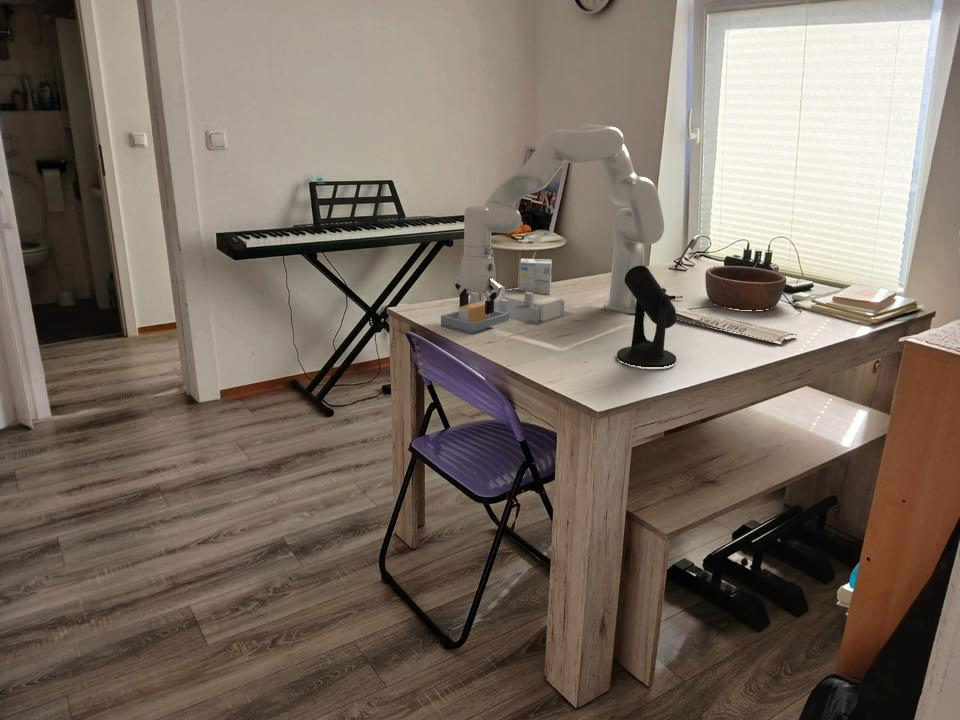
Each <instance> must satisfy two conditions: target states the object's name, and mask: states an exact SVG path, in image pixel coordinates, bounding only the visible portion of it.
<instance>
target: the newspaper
mask: <svg viewBox="0 0 960 720" xmlns="http://www.w3.org/2000/svg"><path fill="white" fill-rule="evenodd" d="M675 311H676V317H677V319H678V320H682V321H686V322H691V323H695V324H699V325H704V326H708V327H712V328H717V329H722V330H727V331H732V332H736V333H740V334H744V335H748V336H752V337H756V338H760V339H764V340H767V341H771V342H775V341H779V342H782V343H783V341H785V340H784V338H785V337H787V336H789V335H794V334H795V335H796V336H797V333H794V332H789V331H783V330H780V329H776V328H771V327H766V326H761V325H758V324H757V325H756V324H753V323H748V322H742V321H738V320H735V319H729V318H726V317H722V316H721V317H720V316H717V315H714V314H710V313H704V312H702V311H697V310H692V309H688V308H679V309H678V308H677V309H675ZM682 321H681V322H682ZM686 322H685V323H686ZM695 324H694V325H695ZM699 325H698V326H699ZM708 327H707V328H708ZM712 328H711V329H712Z"/></svg>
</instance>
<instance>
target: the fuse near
mask: <svg viewBox="0 0 960 720" xmlns="http://www.w3.org/2000/svg"><path fill="white" fill-rule="evenodd" d="M562 300H563V299H562V298H558V297H554V296H550V297H547V298H543V299H539V300H536V301H533V306H534V307H538V308H540V312H539V320H542V321H544V320H547V319H550V318H553V317H556V316H559V315H560V314H561V306H562Z"/></svg>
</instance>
